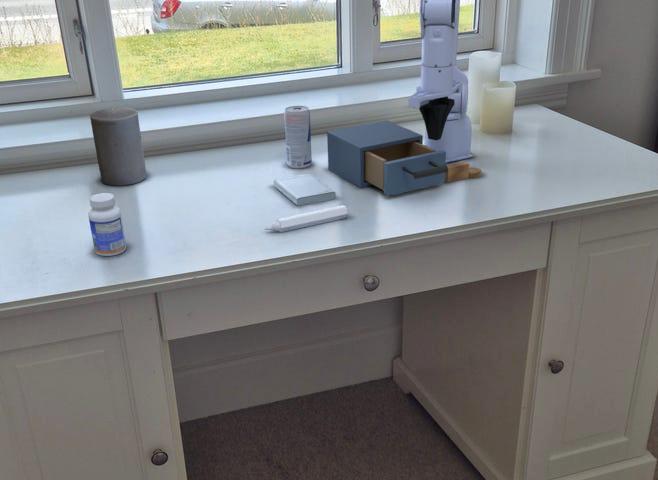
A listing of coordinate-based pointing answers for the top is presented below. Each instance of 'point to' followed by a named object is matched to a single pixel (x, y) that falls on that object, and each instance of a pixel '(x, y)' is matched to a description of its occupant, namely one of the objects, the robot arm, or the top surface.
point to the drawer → (404, 167)
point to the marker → (309, 219)
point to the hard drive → (304, 189)
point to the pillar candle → (118, 146)
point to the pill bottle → (106, 225)
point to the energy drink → (298, 136)
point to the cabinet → (363, 147)
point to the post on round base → (461, 172)
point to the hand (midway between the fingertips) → (434, 138)
